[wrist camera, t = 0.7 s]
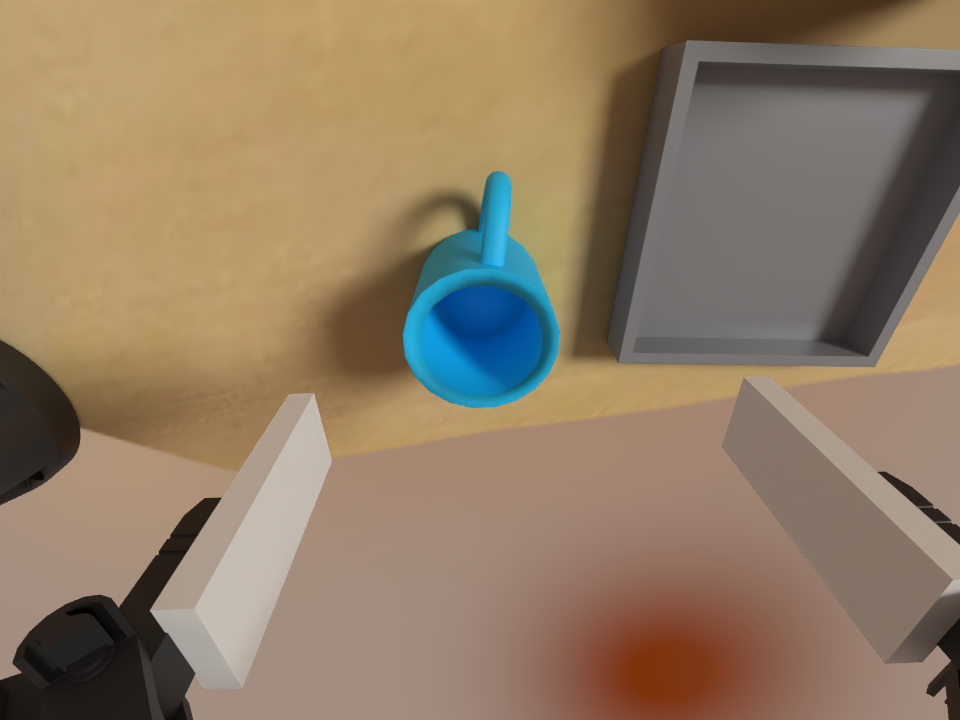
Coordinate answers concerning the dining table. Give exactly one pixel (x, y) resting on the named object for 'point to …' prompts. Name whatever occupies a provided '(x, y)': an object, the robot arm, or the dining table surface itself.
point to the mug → (481, 313)
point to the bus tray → (786, 202)
